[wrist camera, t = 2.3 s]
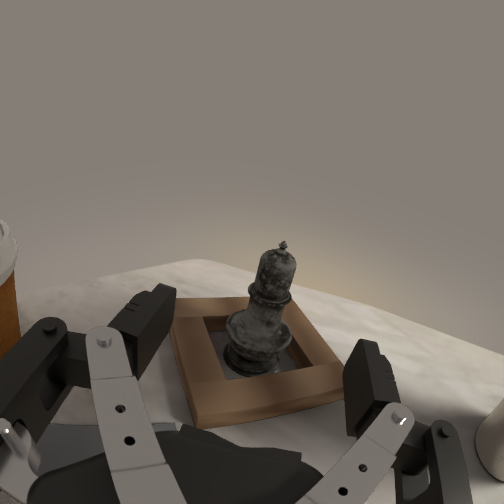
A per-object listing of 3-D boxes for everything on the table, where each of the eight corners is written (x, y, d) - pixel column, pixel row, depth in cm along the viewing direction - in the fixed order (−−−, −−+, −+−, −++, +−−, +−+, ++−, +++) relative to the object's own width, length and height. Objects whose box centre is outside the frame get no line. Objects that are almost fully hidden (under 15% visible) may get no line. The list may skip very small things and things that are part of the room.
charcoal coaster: (174, 426, 19) (174, 422, 19) (220, 563, 10) (222, 562, 10) (30, 425, 15) (28, 421, 15) (38, 565, 6) (34, 564, 6)
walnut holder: (284, 308, 37) (289, 295, 36) (348, 396, 25) (357, 383, 24) (165, 314, 31) (166, 298, 30) (195, 429, 20) (198, 415, 19)
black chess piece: (208, 344, 29) (231, 226, 24) (259, 331, 32) (289, 224, 27) (241, 388, 24) (277, 263, 19) (293, 368, 28) (337, 255, 23)
